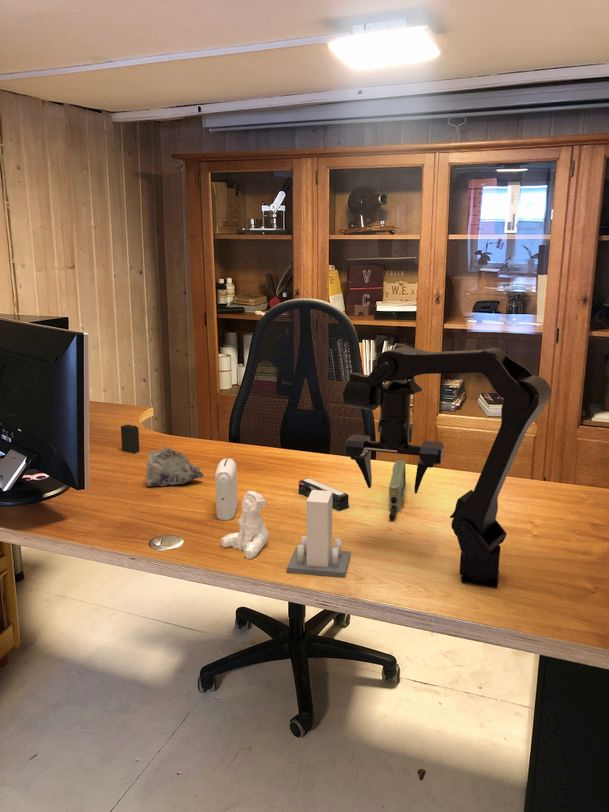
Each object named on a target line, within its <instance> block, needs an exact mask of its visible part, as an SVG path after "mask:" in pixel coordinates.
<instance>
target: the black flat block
mask: <svg viewBox="0 0 609 812" xmlns="http://www.w3.org/2000/svg"><path fill="white" fill-rule="evenodd" d="M312 490H322V491H333V493H332V510H336V511H337V512H341V511H344V510H348V509H350V505H349V503H350V502H349V498H350V497H349V494H348V493H346V492H343V491H341V490H338V489H336V488H333V487H331V486H329V485H327V484H324V483H322V482H320V481H317V480H314V479H313V478H303V479H301V480H298V494H299V495H301V496H304V497H306V498H308V497H309V495H310V493H311V491H312Z"/></svg>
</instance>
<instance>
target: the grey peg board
mask: <svg viewBox="0 0 609 812" xmlns="http://www.w3.org/2000/svg"><path fill="white" fill-rule="evenodd" d="M351 554H352V552H351V550H342V538H339V537H336V538H335V539H334V547H333V546H332V555H331V558H330V561H329V564H328V567H319V566H307V535H302V536H301V544H297V546H296V547H295V549H294V552H293V553H292V556H291V557H290V560H289V562H288V564H287V567H286V573H288V574H299V575H310V576H321V577H323V576H324V577H333V578H344V579H345V577H346V574H347V571H348V568H349V567H348V566H349V564H350V563H349V562H350V559H351Z"/></svg>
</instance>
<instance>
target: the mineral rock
mask: <svg viewBox="0 0 609 812" xmlns="http://www.w3.org/2000/svg"><path fill="white" fill-rule="evenodd" d="M204 475H205V474H204V473H203V472H202V471H201V468H200V467H199V466H196V465H194V464H192V463H191V462H190V461H189V458H188V457H186V455H185V454H183V453H181V452H178V451H177V450H175V449H172V448H170V447H168V446H167V447H163V448H162V449H161V450H151V451H149V455H148V459H147V465H146V482H145V483H146V485H147V487H158V486H160V487H165V486H168V485H170V486H174V485H182V484H186V483H187V482H193V480H195V479H196V480H197V479H201V478H203V477H204Z"/></svg>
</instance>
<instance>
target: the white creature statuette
mask: <svg viewBox="0 0 609 812" xmlns="http://www.w3.org/2000/svg"><path fill="white" fill-rule="evenodd" d="M241 501H242V505H241V507H242V509H241V510H242V513H241V516H240V517H239V518H238V520H237V521H238V525H239V531H238V532H232V533H228V534H226V535H224V536H223V537H221V538H220V544H221V546H222V548H234V549H237V550H239V551H240V550H241V551H242V552H243V553H244V557H245V558H246V559H247V560H248V559H249V560H251V559H253V558H255V557H257V556H258V554H259V552H260V551H262V549H263V548H264V546H265V545H266V544H267V542H268V538H269V533H270V532H269V531H268V529H267V527H266V525H265V523H264V518H263V516H262V515H261V513H260V512H261V510H263V507H265V506H266V505H267V504H268V500H267V499H264V497H263V495H262V494H261V493H259V492H257V491H254V490H247V491H246V493H245V494H244V495H243V498H242V500H241Z"/></svg>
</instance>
